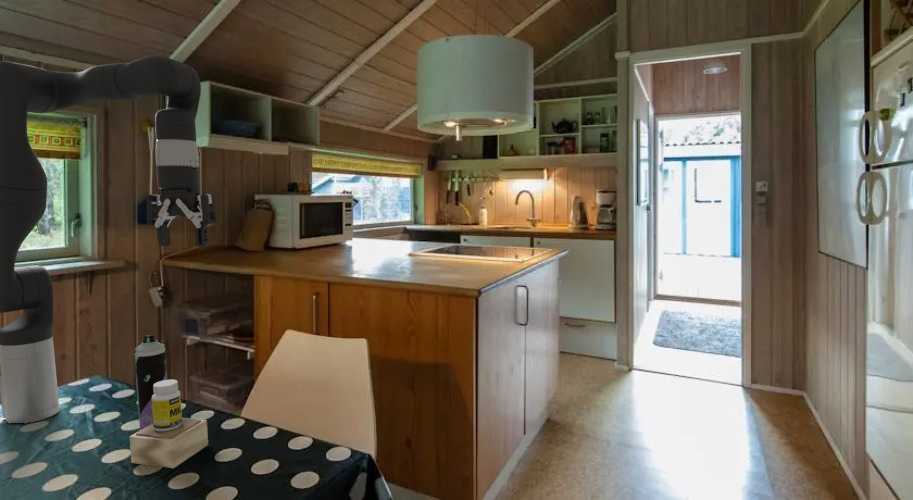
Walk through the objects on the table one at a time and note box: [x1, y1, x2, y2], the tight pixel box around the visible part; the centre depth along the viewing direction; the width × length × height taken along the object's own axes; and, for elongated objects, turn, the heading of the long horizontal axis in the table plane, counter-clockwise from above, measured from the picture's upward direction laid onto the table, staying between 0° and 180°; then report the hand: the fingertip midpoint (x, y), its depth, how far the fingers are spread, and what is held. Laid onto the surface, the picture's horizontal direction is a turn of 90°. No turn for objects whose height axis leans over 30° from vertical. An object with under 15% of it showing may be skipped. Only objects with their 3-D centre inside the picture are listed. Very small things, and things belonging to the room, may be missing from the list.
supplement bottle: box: [152, 379, 183, 431], centre depth 98 cm, size 5×5×8 cm
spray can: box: [133, 334, 168, 431], centre depth 108 cm, size 6×6×20 cm
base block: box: [128, 417, 209, 469], centre depth 99 cm, size 9×9×5 cm
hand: (183, 246), depth 105 cm, fingers open, 8 cm apart
